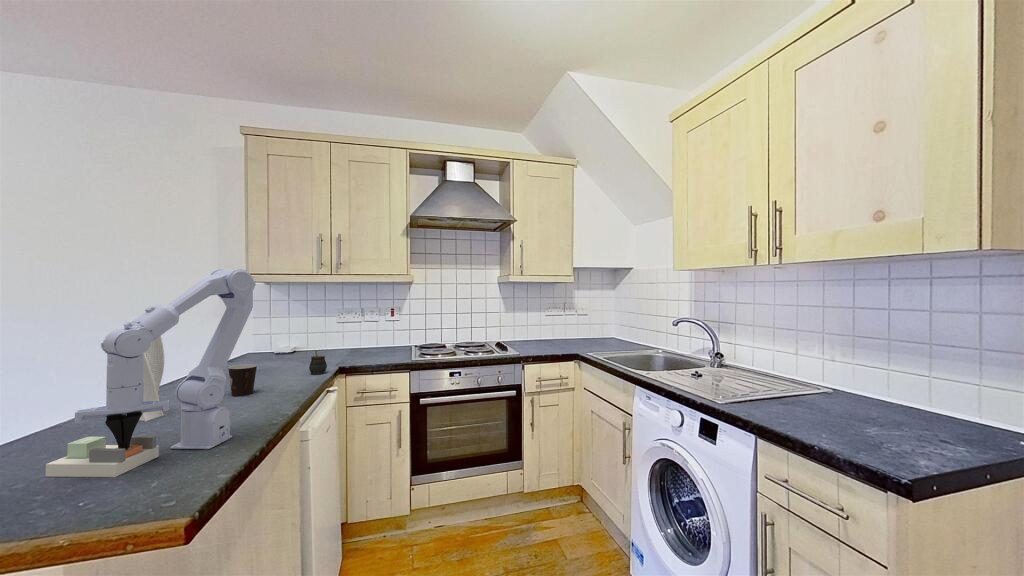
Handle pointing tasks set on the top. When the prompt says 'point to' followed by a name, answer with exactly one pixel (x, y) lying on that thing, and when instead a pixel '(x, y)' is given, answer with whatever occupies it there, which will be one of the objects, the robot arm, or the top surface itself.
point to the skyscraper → (153, 377)
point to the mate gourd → (318, 364)
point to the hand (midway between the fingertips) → (124, 448)
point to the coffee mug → (242, 379)
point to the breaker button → (132, 450)
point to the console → (105, 460)
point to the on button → (84, 447)
